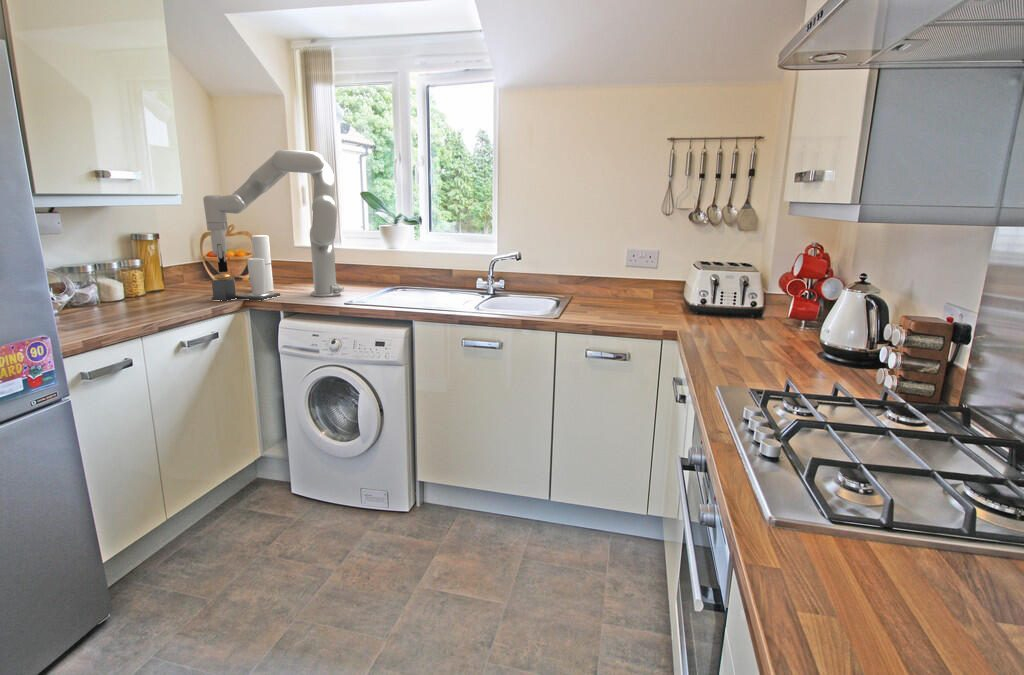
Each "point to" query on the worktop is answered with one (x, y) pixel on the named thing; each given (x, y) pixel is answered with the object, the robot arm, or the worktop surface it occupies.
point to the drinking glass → (257, 275)
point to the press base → (227, 291)
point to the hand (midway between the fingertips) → (223, 271)
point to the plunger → (222, 276)
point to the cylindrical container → (263, 251)
